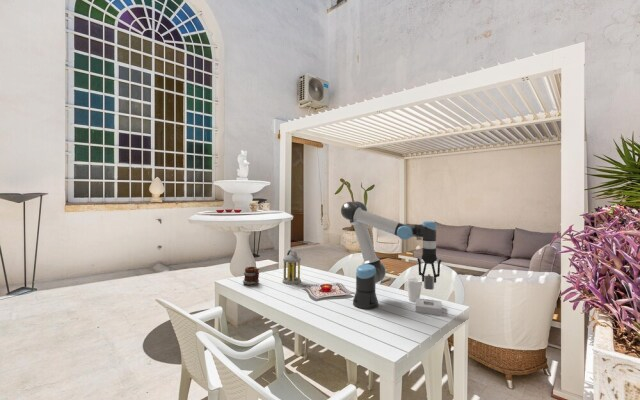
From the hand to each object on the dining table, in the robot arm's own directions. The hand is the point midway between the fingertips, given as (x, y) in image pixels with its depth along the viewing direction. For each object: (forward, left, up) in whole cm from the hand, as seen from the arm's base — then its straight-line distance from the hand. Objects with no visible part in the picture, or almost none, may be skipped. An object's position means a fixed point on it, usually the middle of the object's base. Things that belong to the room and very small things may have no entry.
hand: (429, 287), depth 176 cm
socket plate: (0, +1, -13) cm, 13 cm away
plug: (0, 0, 0) cm, 1 cm away
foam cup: (-9, +14, -13) cm, 21 cm away
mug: (-123, +4, -13) cm, 124 cm away
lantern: (-99, +21, -13) cm, 102 cm away
